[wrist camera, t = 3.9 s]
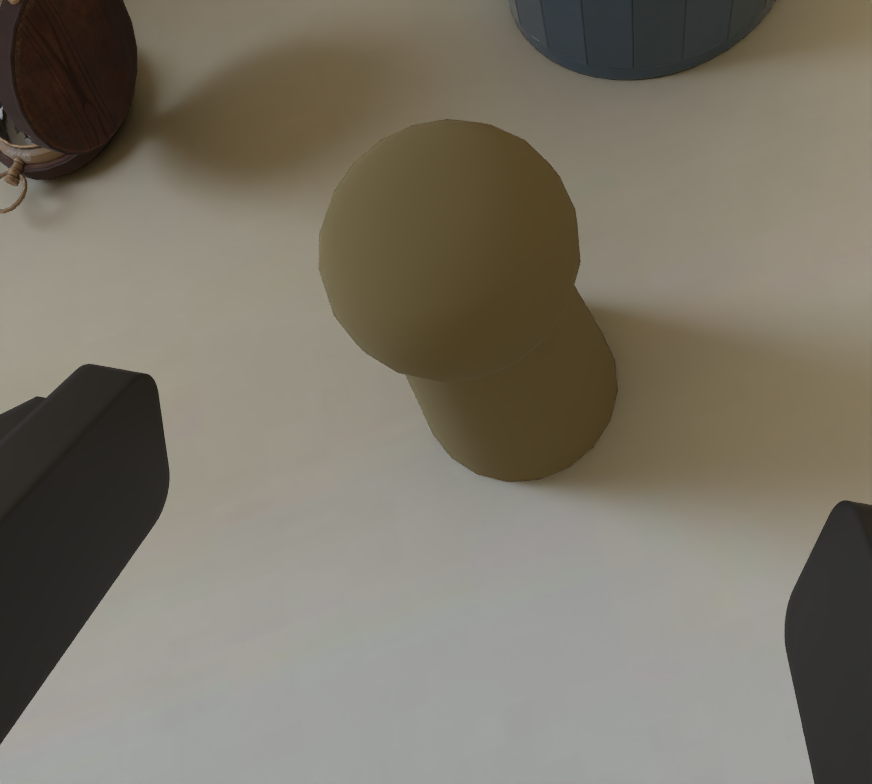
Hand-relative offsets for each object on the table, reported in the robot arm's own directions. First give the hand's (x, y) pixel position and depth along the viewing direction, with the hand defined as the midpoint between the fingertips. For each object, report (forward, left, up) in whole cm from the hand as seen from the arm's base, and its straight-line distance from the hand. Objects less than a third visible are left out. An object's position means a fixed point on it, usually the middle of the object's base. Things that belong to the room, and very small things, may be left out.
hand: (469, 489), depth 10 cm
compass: (-25, -5, -14) cm, 29 cm away
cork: (-5, +2, -14) cm, 15 cm away
